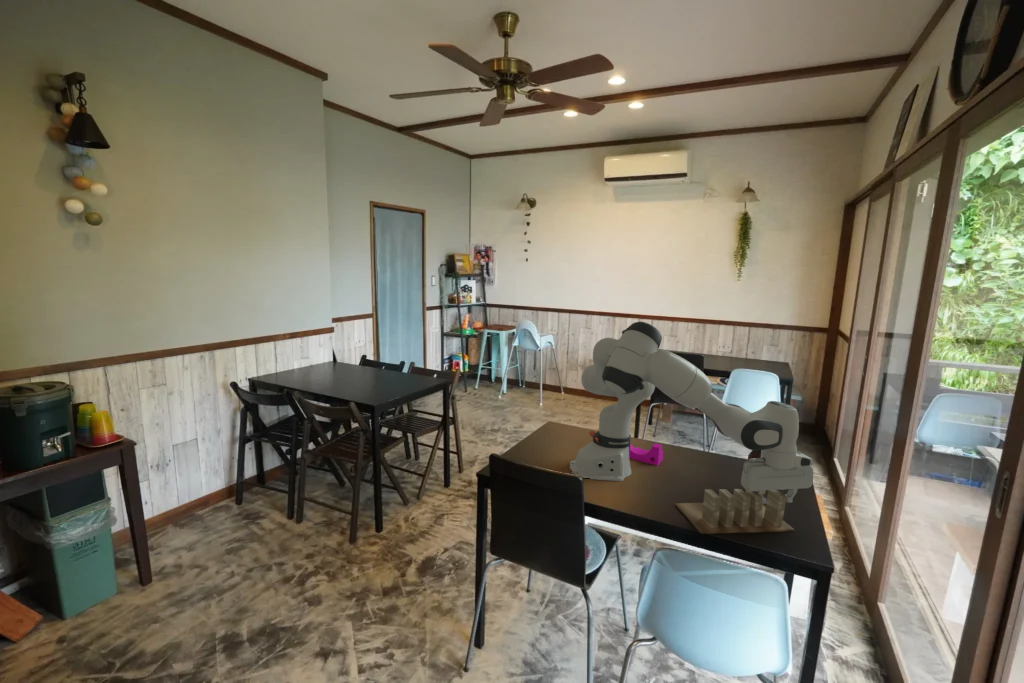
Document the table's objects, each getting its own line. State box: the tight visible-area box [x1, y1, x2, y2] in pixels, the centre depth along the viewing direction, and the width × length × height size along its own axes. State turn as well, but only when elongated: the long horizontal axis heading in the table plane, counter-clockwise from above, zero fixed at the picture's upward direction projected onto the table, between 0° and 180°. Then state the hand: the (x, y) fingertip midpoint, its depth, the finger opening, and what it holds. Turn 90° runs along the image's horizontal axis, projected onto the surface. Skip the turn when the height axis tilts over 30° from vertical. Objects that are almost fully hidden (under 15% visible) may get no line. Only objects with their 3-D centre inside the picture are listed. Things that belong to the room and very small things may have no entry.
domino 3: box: [732, 488, 751, 527], centre depth 133 cm, size 2×5×9 cm, turn 6°
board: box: [674, 502, 795, 535], centre depth 137 cm, size 28×16×1 cm, turn 96°
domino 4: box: [744, 488, 763, 526], centre depth 133 cm, size 2×5×9 cm, turn 6°
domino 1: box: [702, 488, 721, 527], centre depth 132 cm, size 2×5×9 cm, turn 6°
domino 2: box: [718, 488, 736, 527], centre depth 132 cm, size 2×5×9 cm, turn 6°
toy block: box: [629, 443, 664, 467], centre depth 179 cm, size 15×6×8 cm, turn 56°
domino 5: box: [764, 490, 787, 526], centre depth 133 cm, size 2×5×9 cm, turn 6°
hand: (774, 502), depth 133 cm, fingers open, 7 cm apart
